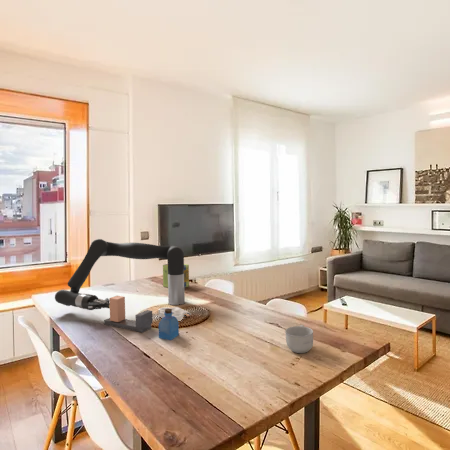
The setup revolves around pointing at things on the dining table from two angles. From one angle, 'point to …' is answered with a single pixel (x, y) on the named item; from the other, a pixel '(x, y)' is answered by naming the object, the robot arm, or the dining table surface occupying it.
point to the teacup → (299, 338)
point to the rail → (134, 322)
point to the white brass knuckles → (173, 312)
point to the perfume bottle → (168, 326)
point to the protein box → (186, 275)
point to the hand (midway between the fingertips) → (111, 306)
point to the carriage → (117, 308)
